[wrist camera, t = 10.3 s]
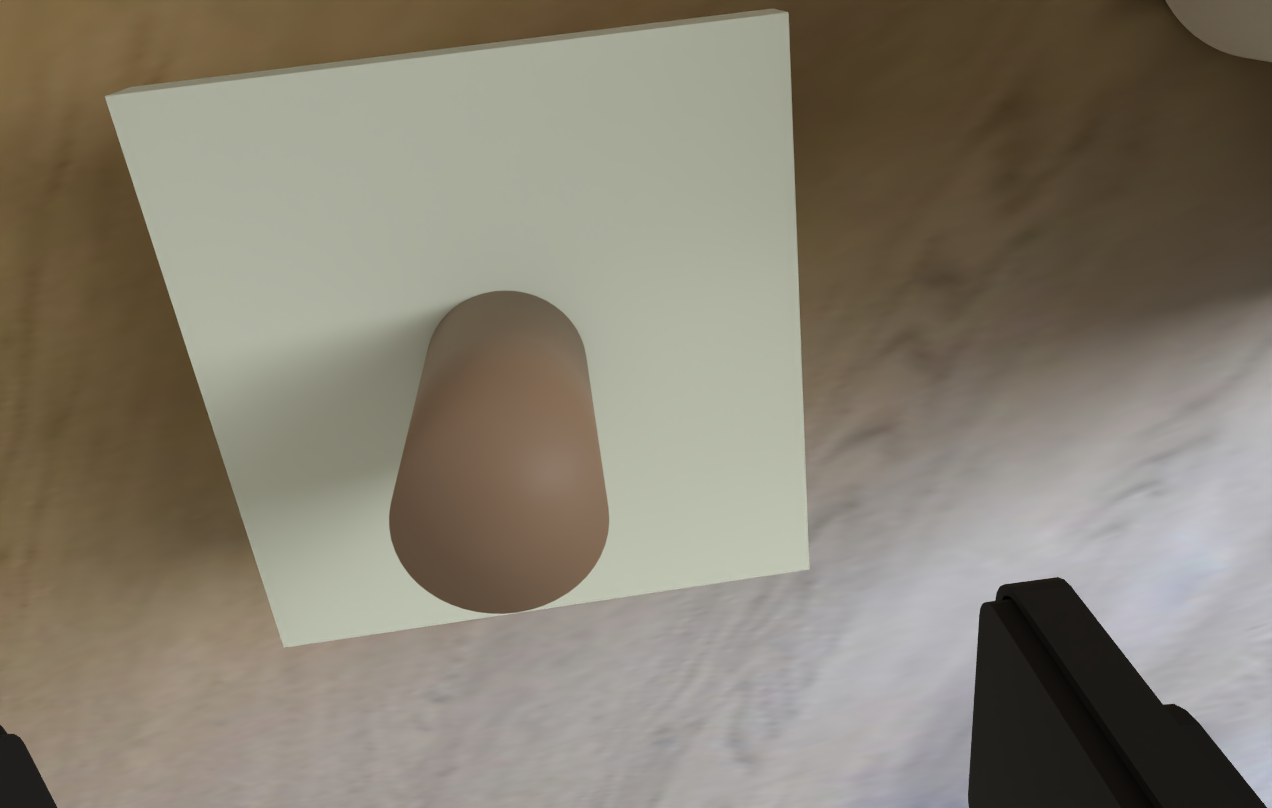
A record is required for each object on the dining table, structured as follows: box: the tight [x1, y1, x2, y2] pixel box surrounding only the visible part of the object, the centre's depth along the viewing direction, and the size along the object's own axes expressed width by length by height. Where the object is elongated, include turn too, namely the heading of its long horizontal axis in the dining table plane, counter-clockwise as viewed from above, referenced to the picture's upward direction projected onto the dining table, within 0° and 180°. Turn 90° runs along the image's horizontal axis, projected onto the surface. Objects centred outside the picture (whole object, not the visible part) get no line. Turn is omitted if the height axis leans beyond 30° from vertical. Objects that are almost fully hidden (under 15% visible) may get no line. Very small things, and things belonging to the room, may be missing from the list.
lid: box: [105, 8, 809, 648], centre depth 18 cm, size 12×12×7 cm
